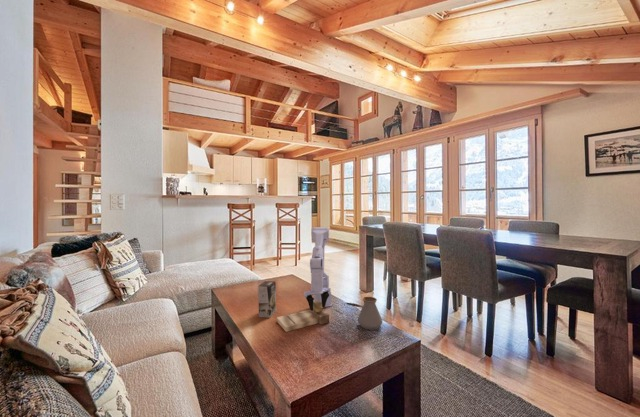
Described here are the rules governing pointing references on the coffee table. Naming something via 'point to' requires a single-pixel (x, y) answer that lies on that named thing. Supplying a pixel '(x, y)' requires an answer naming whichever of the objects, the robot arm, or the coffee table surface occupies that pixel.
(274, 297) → the coffee box
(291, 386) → the coffee table surface
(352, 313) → the coffee table surface
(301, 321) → the pine board
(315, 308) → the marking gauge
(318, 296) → the robot arm
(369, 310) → the coffee pot
